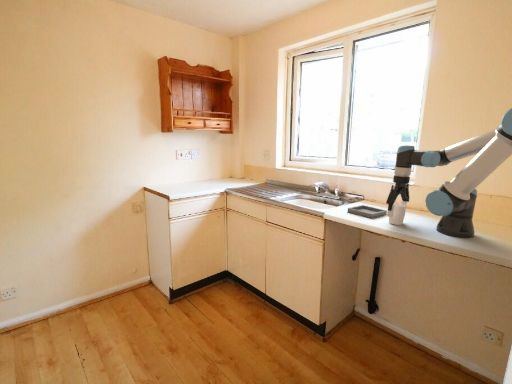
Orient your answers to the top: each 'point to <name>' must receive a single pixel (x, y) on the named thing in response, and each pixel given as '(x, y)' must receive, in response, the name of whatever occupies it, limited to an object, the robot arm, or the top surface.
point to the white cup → (398, 214)
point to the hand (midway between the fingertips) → (396, 214)
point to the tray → (367, 211)
